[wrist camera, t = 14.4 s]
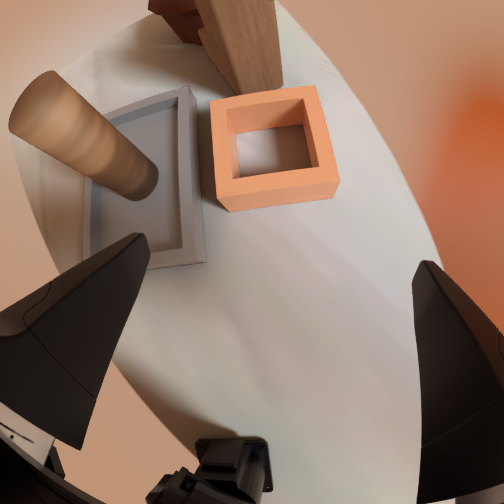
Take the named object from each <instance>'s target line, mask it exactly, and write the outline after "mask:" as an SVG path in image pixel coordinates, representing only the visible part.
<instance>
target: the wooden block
mask: <svg viewBox="0 0 504 504" xmlns="http://www.w3.org/2000/svg"><path fill="white" fill-rule="evenodd" d="M194 2H195V4H196V6H197V9H198V11H199V14H200V16H201V19H202V21H203V24H204V27H203V28H201V29H199V30H198V35H199V37H200V39H201V42H202V44H203V46H204V49H205V51H206V54H207V56H208V57H209V59H210V60H211V61H212V63H213V64H214V65H215V67H216V68H217V69H218V71H219V72H220V73H221V75H222V76H223V77H224V79H225V80H226V81H227V83H228V84H229V85H230V87H231V88H232V89H233V91H234V92H235V94H236V95H237V96H239V95H245V94H250V93H256V92H263V91H270V90H276V89H278V88H280V87H282V86H283V75H282V65H281V55H280V46H279V37H278V28H277V19H276V11H275V4H274V0H194Z"/></svg>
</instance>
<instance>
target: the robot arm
mask: <svg viewBox="0 0 504 504" xmlns="http://www.w3.org/2000/svg"><path fill="white" fill-rule="evenodd" d="M150 257H151V252H150V249H149V245H148V242H147V238H146V235H145V234H144V233H137V232H133V233H131V234H129V235H127V236H126V237H124V238H122V239H120V240H118V241H117V242H115V243H113V244H111V245H110V246H108V247H106V248H104V249H103V250H101V251H99V252H97V253H96V254H94V255H92V256H91V257H89V258H87V259H86V260H84V261H82V262H81V263H79V264H77V265H76V266H74V267H72V268H71V269H69V270H67V271H66V272H64V273H63V274H61V275H59V276H58V277H56V278H55V279H53V281H50V282H48V283H47V284H45V285H44V286H42V287H41V288H39V289H37V290H36V291H34V292H33V293H31V294H29V295H28V296H26V297H24V298H23V299H21V300H19V301H18V302H16V303H14V304H13V305H11V306H9V307H7V308H6V309H4V310H3V311H1V312H0V504H106V503H104V502H102V501H100V500H98V499H96V498H94V497H92V496H90V495H89V494H87V493H85V492H84V491H82V490H80V489H78V488H77V487H75V486H73V485H72V484H70V483H68V482H67V481H66V480H64V477H65V473H64V470H63V468H62V465H61V462H60V459H59V456H58V453H57V450H56V448H55V447H54V446H53V443H54V441H55V439H58V440H60V441H62V442H64V443H66V444H67V445H69V446H71V447H73V448H75V449H77V450H81V448H82V445H83V442H84V438H85V435H86V431H87V428H88V425H89V421H90V419H91V415H92V412H93V409H94V406H95V403H96V399H97V397H98V394H99V391H100V388H101V385H102V383H103V380H104V376H105V374H106V372H107V369H108V366H109V364H110V361H111V358H112V356H113V353H114V351H115V348H116V346H117V343H118V341H119V338H120V336H121V333H122V331H123V328H124V326H125V324H126V321H127V319H128V316H129V314H130V312H131V310H132V307H133V305H134V303H135V300H136V298H137V296H138V293H139V290H140V287H141V284H142V281H143V278H144V275H145V272H146V269H147V267H148V264H149V261H150ZM412 294H413V309H414V327H415V335H416V343H417V352H418V362H419V373H420V388H421V415H422V436H421V446H422V447H421V459H420V474H419V485H418V494H417V504H427V503H433V502H439V501H444V500H448V499H453V498H455V504H504V336H503V334H502V333H501V332H500V331H499V330H498V328H496V326H495V325H494V324H493V323H492V321H491V320H490V319H489V318H488V317H487V316H486V315H485V313H484V312H483V311H482V310H481V309H480V308H479V307H478V306H477V305H476V304H475V303H474V301H473V300H472V299H471V298H470V297H469V296H468V295H467V294H466V293H465V292H464V291H463V290H462V289H461V288H460V287H459V286H458V285H457V284H456V283H455V282H454V281H453V280H452V279H451V278H450V277H449V276H448V275H447V274H446V273H445V272H444V271H443V270H442V269H441V268H440V267H439V266H438V265H437V264H436V263H435V262H433V261H429V260H422V261H421V262H420V264H419V266H418V268H417V271H416V273H415V275H414V277H413V280H412ZM199 443H201V444H202V445H203V446H201V445H200V444H199ZM260 444H263V445H264V446H263V447H262V446H260ZM195 447H196V451H197V455H198V459H199V463H200V465H199V467H198V468H197V470H196V472H195V473H194V474H192V473H191V472H189V471H188V469H186V468H184V467H182V468H181V469H180V471H179V472H178V471H175V473H174V474H173V475H171V474H165V475H164V476H163V478H162V479H161V480H160V481H159V483H158V484H157V485H156V486H155V487H154V489H153V490H152V491H151V492H150V493H149V494H148V495H147V497H146V498H145V500H146V503H147V504H260V501H261V496H262V492H271V491H273V479H272V471H271V463H270V456H269V448H268V443H267V442H266V441H265V440H242V439H214V440H207V439H198V440H197V441H196V443H195ZM266 487H269V488H266Z"/></svg>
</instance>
